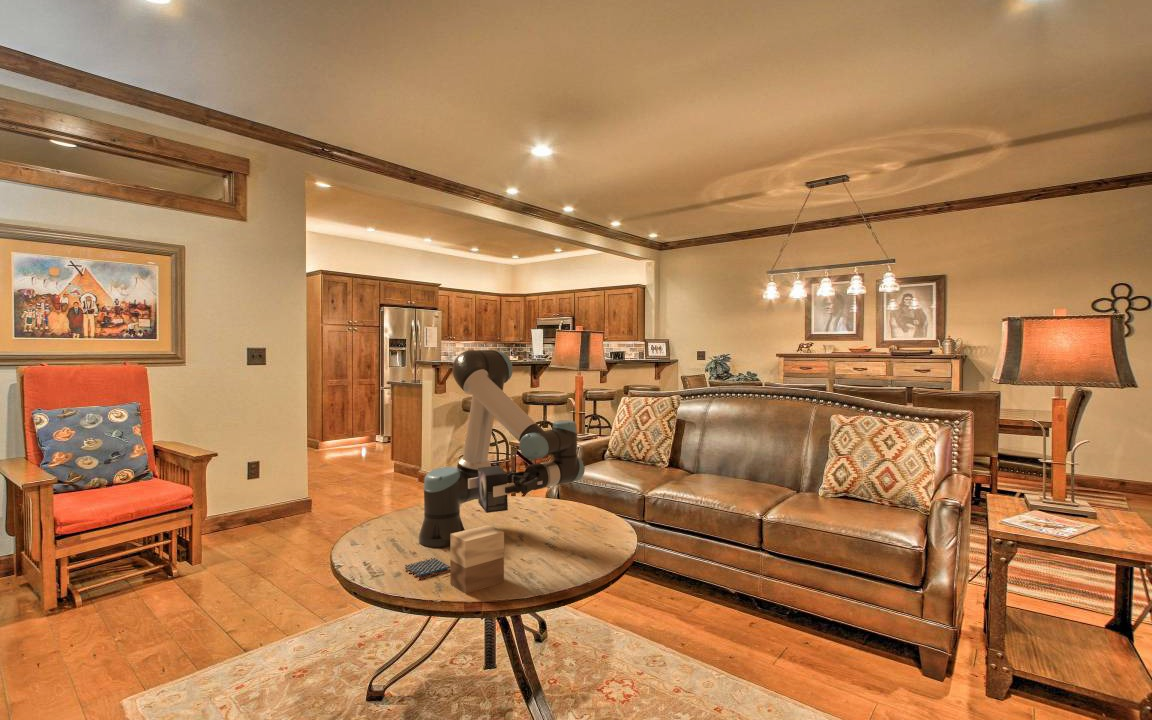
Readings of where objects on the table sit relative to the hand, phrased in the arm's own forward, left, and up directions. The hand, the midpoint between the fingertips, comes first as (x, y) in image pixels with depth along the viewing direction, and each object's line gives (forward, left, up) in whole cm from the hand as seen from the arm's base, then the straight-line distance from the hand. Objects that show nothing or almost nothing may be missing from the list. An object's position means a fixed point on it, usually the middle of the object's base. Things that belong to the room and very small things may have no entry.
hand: (480, 487), depth 154 cm
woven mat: (-17, -8, -26) cm, 32 cm away
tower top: (+1, -2, -19) cm, 19 cm away
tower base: (0, -1, -26) cm, 26 cm away
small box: (0, +4, -6) cm, 7 cm away
